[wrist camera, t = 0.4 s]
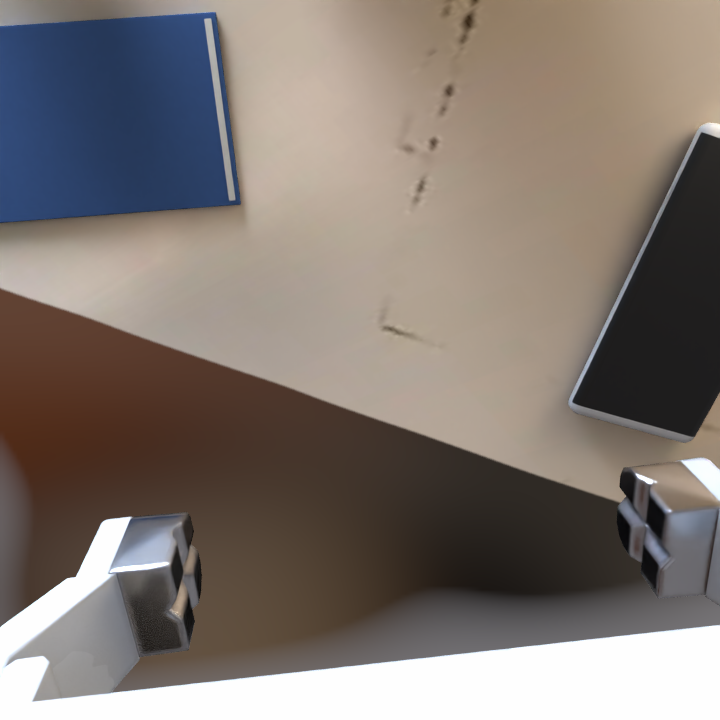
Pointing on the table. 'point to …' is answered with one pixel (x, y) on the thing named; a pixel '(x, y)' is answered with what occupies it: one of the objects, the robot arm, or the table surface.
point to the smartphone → (666, 314)
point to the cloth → (114, 118)
